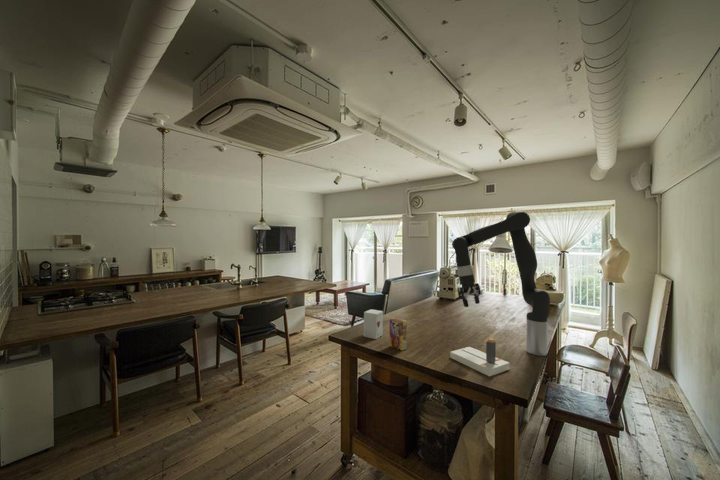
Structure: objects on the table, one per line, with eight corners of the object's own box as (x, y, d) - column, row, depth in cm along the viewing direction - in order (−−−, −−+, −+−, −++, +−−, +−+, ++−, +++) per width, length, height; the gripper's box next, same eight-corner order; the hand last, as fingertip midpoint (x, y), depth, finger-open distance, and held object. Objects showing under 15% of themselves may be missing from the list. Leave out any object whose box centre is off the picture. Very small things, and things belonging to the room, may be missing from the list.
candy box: (407, 348, 151) (407, 320, 151) (402, 351, 148) (402, 322, 148) (393, 344, 158) (393, 317, 158) (389, 346, 154) (389, 318, 154)
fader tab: (490, 359, 131) (490, 337, 131) (496, 362, 128) (496, 339, 128) (485, 361, 129) (485, 338, 129) (491, 363, 126) (491, 340, 126)
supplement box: (376, 339, 165) (376, 314, 165) (363, 336, 170) (363, 312, 170) (383, 335, 173) (383, 310, 173) (370, 332, 177) (370, 308, 177)
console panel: (469, 352, 147) (469, 346, 147) (509, 369, 128) (509, 362, 128) (450, 357, 140) (450, 351, 140) (489, 376, 121) (489, 368, 121)
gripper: (462, 276, 143) (468, 308, 141) (480, 271, 149) (487, 302, 148) (450, 276, 149) (457, 307, 147) (469, 273, 156) (475, 302, 154)
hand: (472, 305), depth 147 cm, fingers open, 8 cm apart
